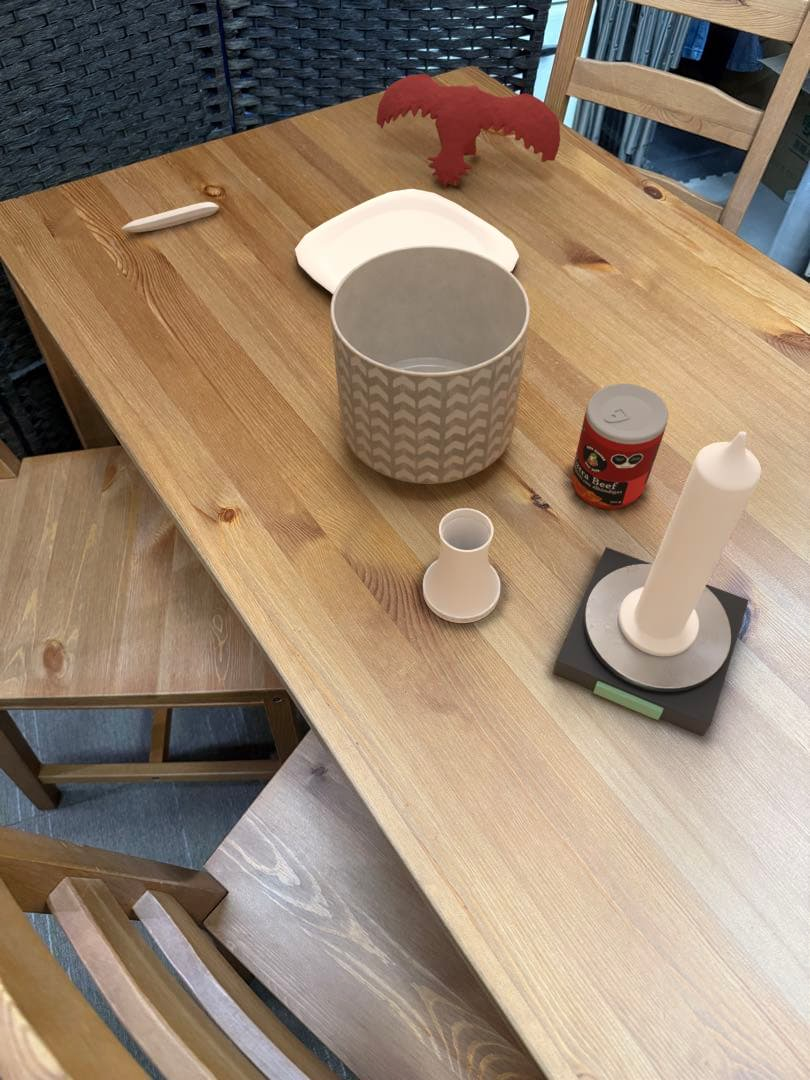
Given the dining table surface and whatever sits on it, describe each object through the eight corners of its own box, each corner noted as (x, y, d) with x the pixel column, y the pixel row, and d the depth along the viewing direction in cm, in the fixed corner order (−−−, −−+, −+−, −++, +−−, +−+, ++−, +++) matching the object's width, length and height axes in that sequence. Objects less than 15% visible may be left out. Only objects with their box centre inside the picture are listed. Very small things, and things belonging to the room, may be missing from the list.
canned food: (555, 480, 92) (570, 407, 83) (605, 444, 95) (625, 370, 86) (609, 523, 88) (630, 452, 79) (659, 485, 91) (685, 412, 82)
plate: (274, 257, 115) (272, 246, 114) (413, 186, 125) (413, 175, 124) (397, 352, 104) (397, 341, 103) (540, 265, 114) (542, 254, 112)
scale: (741, 612, 82) (753, 592, 79) (701, 741, 74) (713, 724, 72) (601, 560, 86) (608, 539, 83) (550, 677, 78) (555, 659, 75)
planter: (328, 492, 91) (311, 364, 77) (358, 370, 102) (349, 237, 88) (506, 511, 90) (524, 384, 75) (517, 384, 101) (535, 252, 86)
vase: (515, 590, 84) (526, 529, 76) (462, 637, 81) (468, 579, 73) (459, 546, 87) (464, 483, 79) (406, 589, 84) (406, 529, 76)
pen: (121, 233, 119) (118, 223, 117) (217, 207, 122) (215, 197, 121) (124, 240, 118) (121, 229, 117) (221, 213, 121) (219, 202, 120)
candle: (705, 606, 78) (806, 413, 58) (686, 669, 75) (787, 486, 54) (630, 579, 80) (703, 383, 60) (608, 639, 76) (678, 452, 56)
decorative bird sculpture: (543, 217, 127) (573, 111, 124) (534, 203, 119) (566, 89, 115) (370, 178, 134) (394, 76, 131) (350, 162, 125) (375, 53, 122)
